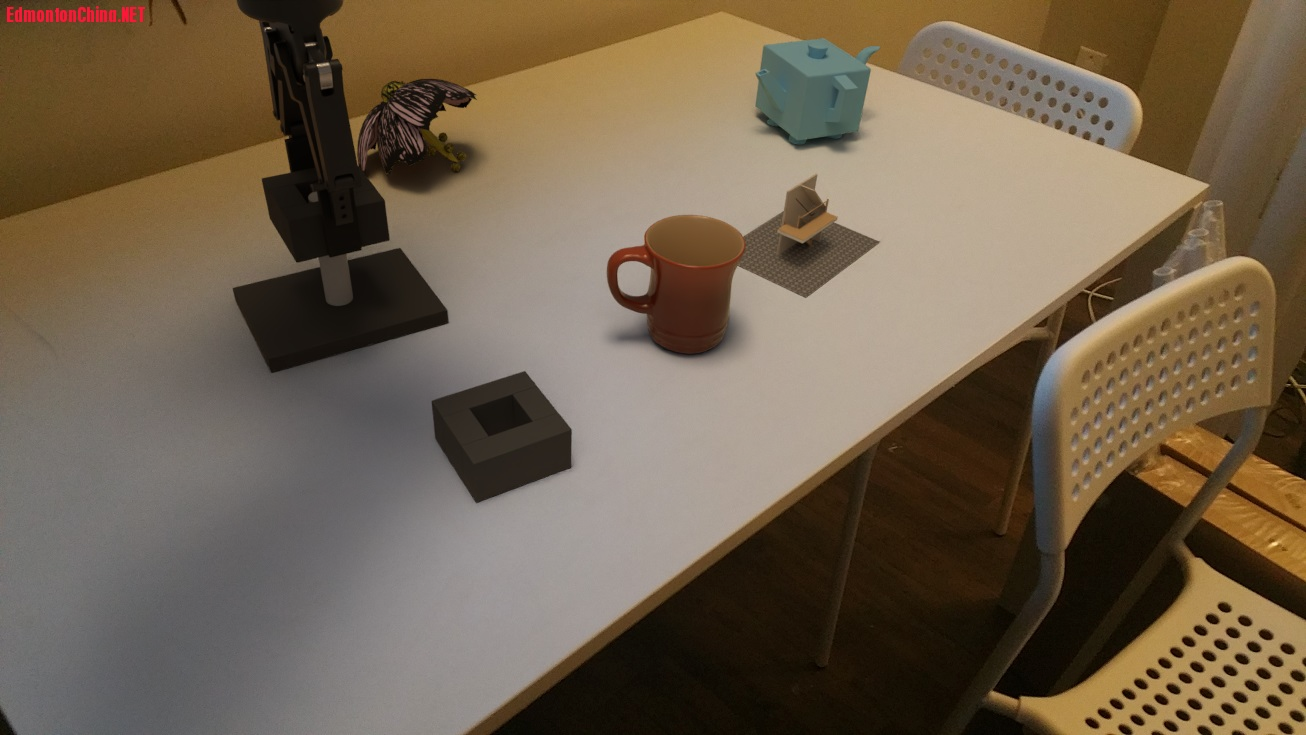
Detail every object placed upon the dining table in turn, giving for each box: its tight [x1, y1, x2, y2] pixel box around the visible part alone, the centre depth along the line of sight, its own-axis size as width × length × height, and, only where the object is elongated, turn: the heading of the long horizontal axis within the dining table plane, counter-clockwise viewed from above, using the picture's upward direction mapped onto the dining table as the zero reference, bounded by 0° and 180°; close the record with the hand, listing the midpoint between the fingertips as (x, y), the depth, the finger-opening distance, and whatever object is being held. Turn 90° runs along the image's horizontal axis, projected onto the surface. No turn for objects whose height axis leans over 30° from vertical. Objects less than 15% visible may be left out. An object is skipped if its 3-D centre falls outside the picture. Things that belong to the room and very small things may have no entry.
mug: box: [606, 214, 746, 355], centre depth 88 cm, size 12×9×10 cm
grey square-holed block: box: [431, 370, 573, 503], centre depth 76 cm, size 8×8×4 cm
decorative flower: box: [356, 78, 478, 177], centre depth 111 cm, size 15×12×15 cm
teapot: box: [754, 37, 881, 145], centre depth 125 cm, size 16×18×11 cm
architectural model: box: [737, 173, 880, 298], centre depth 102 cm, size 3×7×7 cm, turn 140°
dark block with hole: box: [261, 166, 391, 264], centre depth 84 cm, size 8×8×4 cm
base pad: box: [232, 192, 449, 373], centre depth 87 cm, size 16×12×12 cm
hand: (328, 227), depth 85 cm, fingers closed on dark block with hole, 8 cm apart
